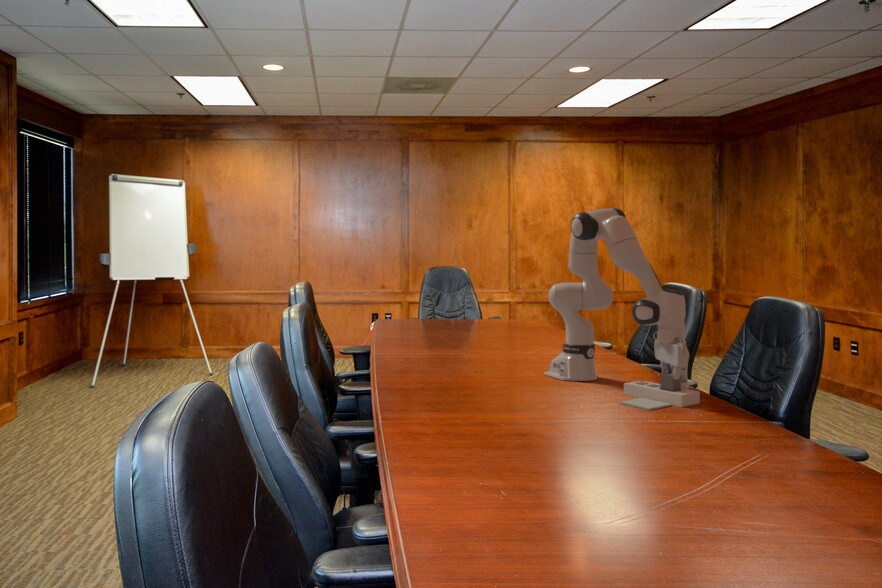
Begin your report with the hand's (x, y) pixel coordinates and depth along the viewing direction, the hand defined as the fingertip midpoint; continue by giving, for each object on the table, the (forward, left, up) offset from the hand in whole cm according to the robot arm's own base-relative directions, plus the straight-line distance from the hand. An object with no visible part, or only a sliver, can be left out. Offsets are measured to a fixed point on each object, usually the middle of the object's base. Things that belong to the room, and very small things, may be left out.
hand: (670, 376), depth 228 cm
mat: (-1, -12, -9) cm, 14 cm away
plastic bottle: (-5, +12, -9) cm, 16 cm away
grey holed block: (-4, 0, -9) cm, 10 cm away
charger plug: (0, 0, -9) cm, 9 cm away
